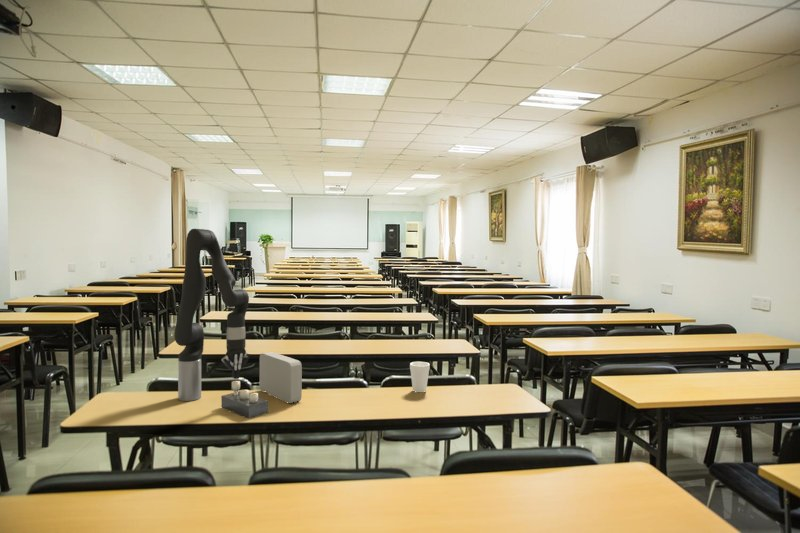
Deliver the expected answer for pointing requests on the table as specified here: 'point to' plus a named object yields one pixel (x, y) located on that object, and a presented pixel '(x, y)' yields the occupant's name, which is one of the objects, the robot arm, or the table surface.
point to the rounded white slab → (281, 376)
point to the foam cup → (419, 375)
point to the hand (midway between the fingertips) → (236, 378)
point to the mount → (244, 406)
